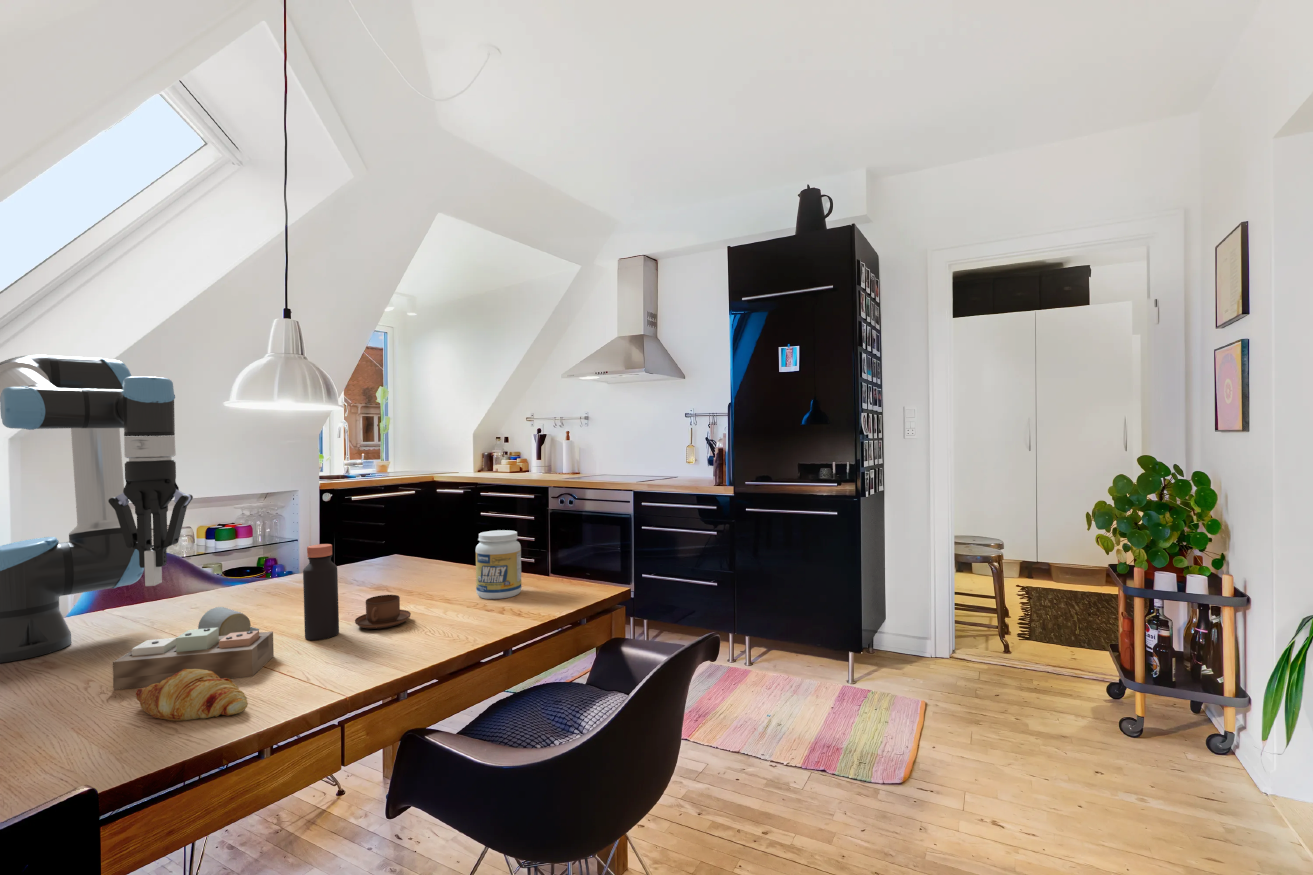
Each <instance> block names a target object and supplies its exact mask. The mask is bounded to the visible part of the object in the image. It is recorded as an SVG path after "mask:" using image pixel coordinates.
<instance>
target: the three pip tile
mask: <svg viewBox="0 0 1313 875" xmlns="http://www.w3.org/2000/svg"><path fill="white" fill-rule="evenodd" d="M259 633H260V630H259V631H248V632H236V633H230V634H228V635H227V636H225V637H224V638H223V639H221V640H220V641H219V648H227V647H238V646H249V645H252V644H253V643H254V642H255V641H257V640H258V639H259Z"/></svg>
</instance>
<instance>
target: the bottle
mask: <svg viewBox="0 0 1313 875" xmlns="http://www.w3.org/2000/svg"><path fill="white" fill-rule="evenodd" d="M306 554H307V560H309V561H308V564H306V566H305V567H304V568H303V570H302V581H303V582H302V583H303V585H302V586H303V614H304V615H303V618H304V619H303V622H304V639H306V640H309V641H321V640H327V639H330V638H333V637H335V636H337V635H338V634H339V633H340V620H339V618H340V616H339V614H340V613H339V580H338V579H339V577H338V575H339V574H338V573H339V572H338V566H337V565H336V564H335V563H334V562H333V561H332V557H333V544H331V543H320V544H313V545H309V546H307V547H306Z"/></svg>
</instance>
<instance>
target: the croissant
mask: <svg viewBox="0 0 1313 875" xmlns="http://www.w3.org/2000/svg"><path fill="white" fill-rule="evenodd" d="M135 696H136V699H137V700H136V701H137V702H139V706H140V708H141V709H142V710H143V711H144V712H145V713H147V714H148V715H150V716H151V717H153V718H154V719H158V720H159V719H161V720H168V721H173V722H180V721H191V720H198V719H211V718H213V717H216V718H217V717H220V715H224V716H232V715H237V714H240V713H241V712H243V711H245V709H246V708H248V705H249V704H248V697H247V696H246V695H245V693H244V691H243V690H240V688H239V687H238V685H236V684H235V683H234V682H233V681H232V680H231V678H230V679H227V678H223V679H220V678H219V677H218V676H217V675H216V674H215V673H214V672H213V671H210V670H202V669H186V668H185V669H183V670H181V671H180V672H177V673H175V674H174V675H173V676H172V677H168V678H166V679H165V680H163V681H161V682H160V683H155V684H151V685H149V686H148V687H140V688H137V690H136V691H135Z"/></svg>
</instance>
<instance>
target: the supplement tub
mask: <svg viewBox="0 0 1313 875" xmlns="http://www.w3.org/2000/svg"><path fill="white" fill-rule="evenodd" d="M518 539H519V538H518V531H515V530H510V529H509V530H508V529H507V530H505V529H502V530H501V529H497V530H489V531H482V532H480V533H478V538H477V541H479V542H478V544H477V545H476V546H475V549H474V550H475V578H476V579H475V583H476V584H475V587H476V588H475V592H476V595H477V596H478V597H479V598H481V599H487V600H499V599H500V600H501V599H506V598H507V599H509V598H512V597H516V596H517V595H519V594H520V593H521V591H522V546H521V543H520V542H519V541H518Z"/></svg>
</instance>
